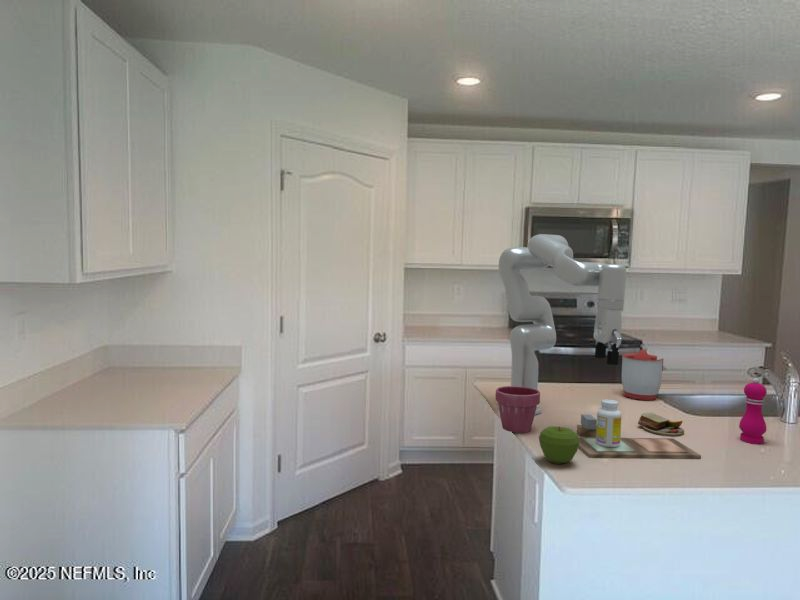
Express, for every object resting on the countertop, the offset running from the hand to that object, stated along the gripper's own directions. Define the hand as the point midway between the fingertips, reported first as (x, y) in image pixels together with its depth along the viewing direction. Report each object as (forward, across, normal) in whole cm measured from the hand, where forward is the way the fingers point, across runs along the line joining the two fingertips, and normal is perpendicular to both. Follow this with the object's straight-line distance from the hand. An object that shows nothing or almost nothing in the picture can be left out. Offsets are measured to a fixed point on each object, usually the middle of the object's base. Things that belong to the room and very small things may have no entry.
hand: (605, 361), depth 171 cm
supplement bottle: (+23, +8, -1) cm, 25 cm away
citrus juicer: (+26, -57, +39) cm, 74 cm away
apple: (+25, +20, -19) cm, 37 cm away
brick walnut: (+25, -5, -2) cm, 26 cm away
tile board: (+24, +8, +7) cm, 27 cm away
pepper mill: (+24, -2, +48) cm, 54 cm away
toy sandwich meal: (+25, -11, +24) cm, 37 cm away
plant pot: (+26, -10, -24) cm, 36 cm away
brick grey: (+22, -5, -2) cm, 23 cm away
